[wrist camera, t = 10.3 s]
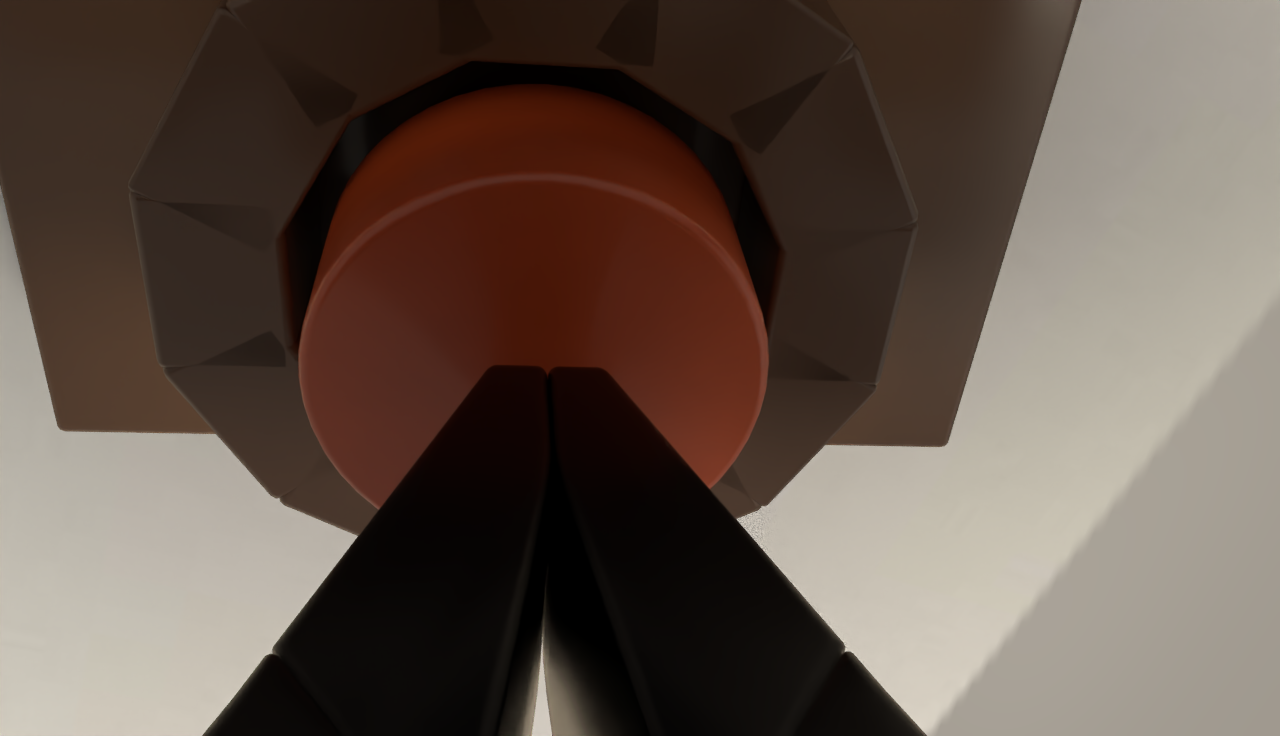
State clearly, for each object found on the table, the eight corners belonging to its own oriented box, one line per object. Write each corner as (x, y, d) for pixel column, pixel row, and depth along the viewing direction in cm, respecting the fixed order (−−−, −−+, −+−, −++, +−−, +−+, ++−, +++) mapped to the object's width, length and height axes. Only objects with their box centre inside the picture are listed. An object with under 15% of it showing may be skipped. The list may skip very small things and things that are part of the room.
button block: (1079, -355, 11) (1315, -314, 8) (895, 362, 16) (993, 575, 13) (-41, -474, 10) (-313, -484, 7) (116, 341, 15) (0, 570, 11)
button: (764, 92, 10) (807, 186, 8) (709, 437, 12) (737, 562, 10) (313, 67, 9) (276, 162, 8) (338, 430, 11) (311, 559, 10)
